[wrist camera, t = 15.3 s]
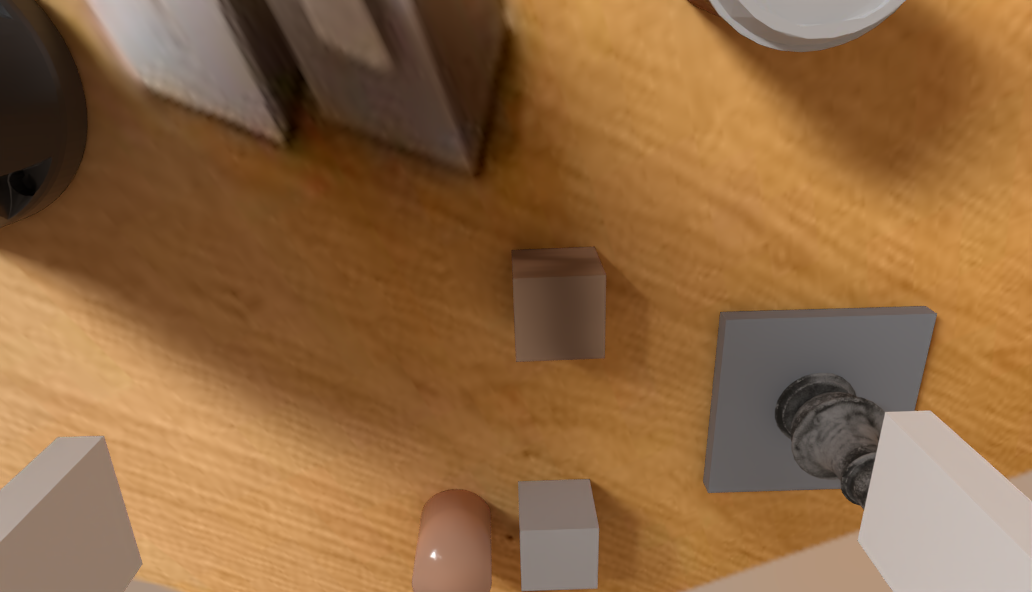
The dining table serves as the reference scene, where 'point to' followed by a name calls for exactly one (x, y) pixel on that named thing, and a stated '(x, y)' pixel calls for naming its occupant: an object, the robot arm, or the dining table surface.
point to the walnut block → (559, 304)
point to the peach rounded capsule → (453, 544)
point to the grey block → (558, 535)
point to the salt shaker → (831, 431)
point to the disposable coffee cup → (801, 20)
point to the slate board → (789, 356)
